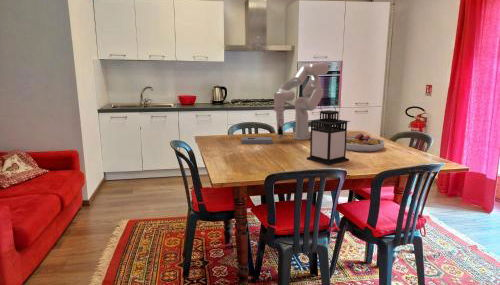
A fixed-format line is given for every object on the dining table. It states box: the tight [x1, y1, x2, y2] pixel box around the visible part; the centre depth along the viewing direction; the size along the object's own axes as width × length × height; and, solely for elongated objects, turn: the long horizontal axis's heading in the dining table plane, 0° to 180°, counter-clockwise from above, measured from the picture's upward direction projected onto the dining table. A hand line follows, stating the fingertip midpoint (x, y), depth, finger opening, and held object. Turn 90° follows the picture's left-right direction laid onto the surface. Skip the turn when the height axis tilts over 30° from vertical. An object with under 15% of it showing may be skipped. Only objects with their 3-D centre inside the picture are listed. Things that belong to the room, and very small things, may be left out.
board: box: [240, 136, 273, 145], centre depth 266 cm, size 22×11×3 cm, turn 88°
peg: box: [276, 124, 284, 139], centre depth 265 cm, size 4×4×10 cm
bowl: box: [346, 133, 385, 153], centre depth 247 cm, size 30×30×8 cm
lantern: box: [306, 100, 351, 166], centre depth 212 cm, size 17×17×35 cm
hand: (280, 133), depth 265 cm, fingers closed on peg, 4 cm apart
